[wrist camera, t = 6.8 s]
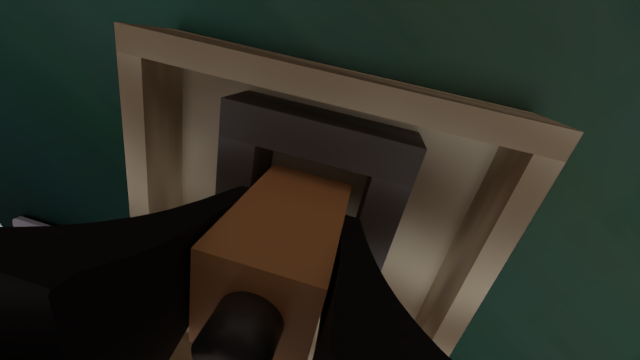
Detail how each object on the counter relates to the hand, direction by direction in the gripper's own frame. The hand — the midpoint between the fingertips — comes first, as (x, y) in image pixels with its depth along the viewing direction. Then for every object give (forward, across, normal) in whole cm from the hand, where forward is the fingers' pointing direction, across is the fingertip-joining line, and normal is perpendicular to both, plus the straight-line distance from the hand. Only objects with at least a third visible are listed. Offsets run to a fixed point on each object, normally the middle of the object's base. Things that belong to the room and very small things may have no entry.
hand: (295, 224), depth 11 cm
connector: (+2, 0, 0) cm, 2 cm away
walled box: (+4, 0, +4) cm, 6 cm away
